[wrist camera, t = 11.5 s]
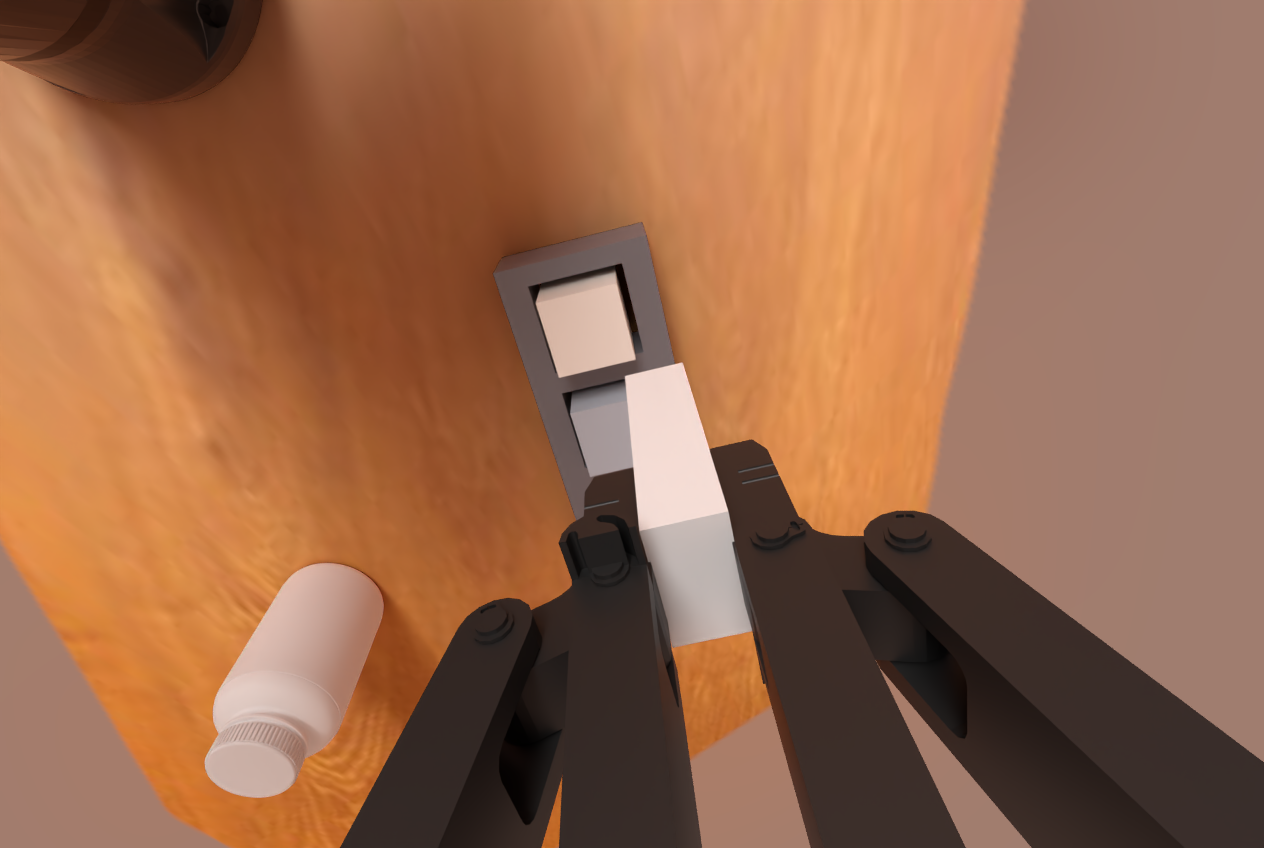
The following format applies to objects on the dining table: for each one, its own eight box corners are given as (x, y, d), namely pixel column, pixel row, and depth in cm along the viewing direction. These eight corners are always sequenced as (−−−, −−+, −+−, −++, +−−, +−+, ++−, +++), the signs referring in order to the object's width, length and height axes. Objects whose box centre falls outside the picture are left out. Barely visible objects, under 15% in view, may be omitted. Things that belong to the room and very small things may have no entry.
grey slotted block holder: (592, 534, 51) (592, 567, 47) (502, 257, 41) (492, 273, 38) (706, 508, 50) (714, 540, 47) (642, 222, 40) (646, 235, 37)
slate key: (590, 442, 46) (590, 476, 42) (572, 383, 43) (570, 413, 39) (655, 427, 45) (661, 460, 41) (640, 367, 43) (644, 396, 39)
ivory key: (562, 350, 42) (558, 377, 38) (541, 281, 40) (535, 303, 36) (632, 333, 42) (635, 359, 38) (614, 263, 40) (616, 283, 36)
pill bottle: (368, 647, 55) (295, 825, 42) (271, 615, 53) (163, 791, 40) (401, 581, 52) (334, 750, 39) (300, 544, 50) (193, 709, 37)
